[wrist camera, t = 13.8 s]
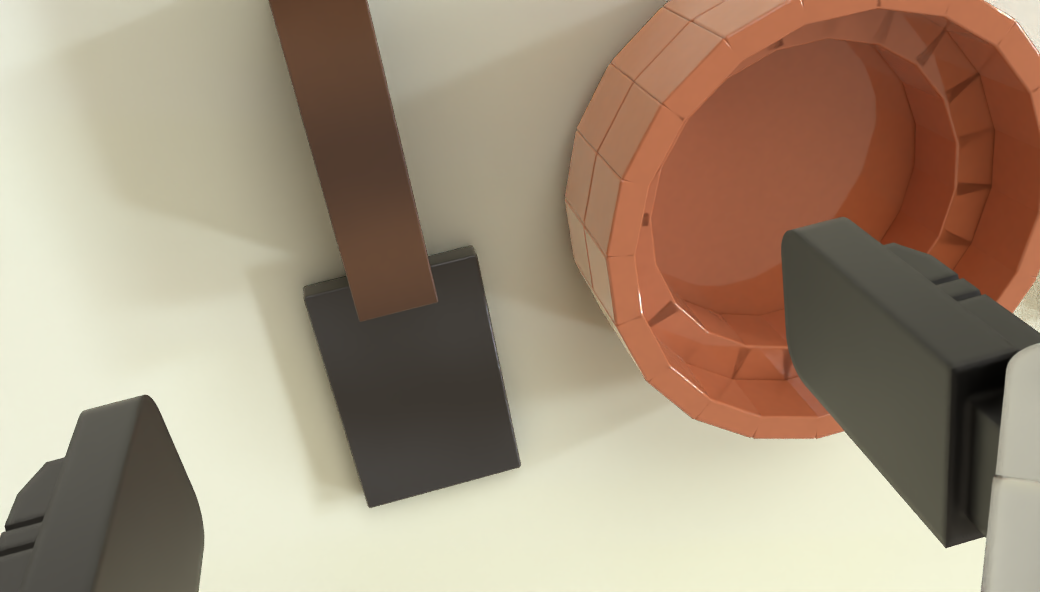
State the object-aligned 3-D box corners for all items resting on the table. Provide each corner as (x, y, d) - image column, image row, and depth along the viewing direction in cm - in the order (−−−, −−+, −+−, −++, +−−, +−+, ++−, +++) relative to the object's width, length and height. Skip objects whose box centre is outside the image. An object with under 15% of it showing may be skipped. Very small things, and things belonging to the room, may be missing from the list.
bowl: (969, -92, 29) (1093, -74, 24) (951, 303, 35) (1047, 375, 30) (528, 4, 27) (576, 43, 23) (592, 399, 33) (639, 489, 29)
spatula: (206, -24, 25) (197, -2, 22) (407, -66, 26) (422, -50, 23) (366, 494, 33) (374, 558, 30) (517, 454, 34) (538, 512, 31)
